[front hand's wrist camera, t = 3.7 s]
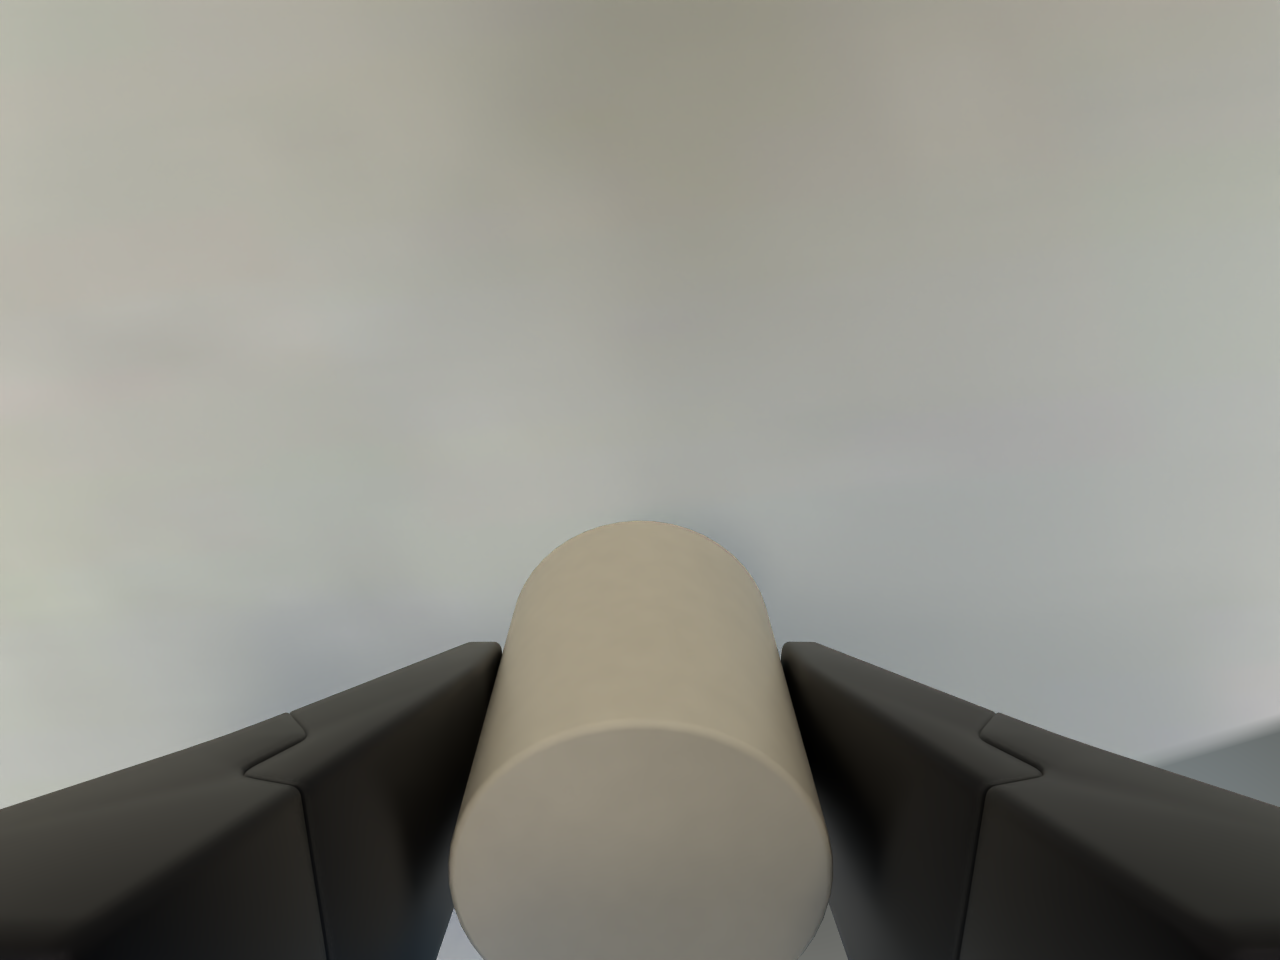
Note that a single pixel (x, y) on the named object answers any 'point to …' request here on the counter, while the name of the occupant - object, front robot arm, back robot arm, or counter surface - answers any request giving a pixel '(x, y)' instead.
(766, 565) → the counter surface
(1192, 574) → the counter surface
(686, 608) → the beige cylinder
